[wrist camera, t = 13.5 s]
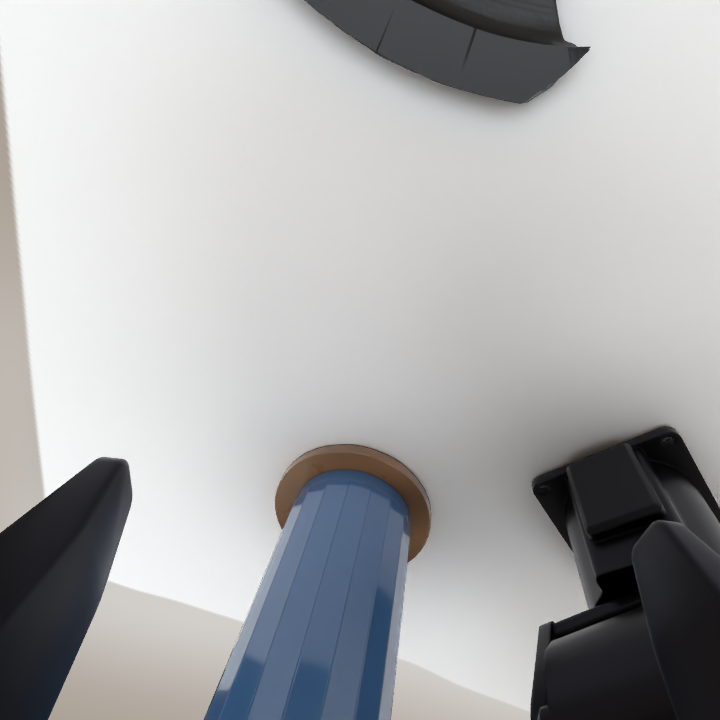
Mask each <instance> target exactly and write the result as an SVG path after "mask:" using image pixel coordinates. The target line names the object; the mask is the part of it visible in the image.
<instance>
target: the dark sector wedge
mask: <svg viewBox="0 0 720 720" xmlns="http://www.w3.org/2000/svg"><path fill="white" fill-rule="evenodd" d="M305 1H306V2H307V3H308V4H310V5H311V6H312V7H313V8H314V9H316V10H317V11H318V12H319V13H320V14H322V15H323V16H324V17H326V18H327V19H328V20H330V21H331V22H333V23H334V24H335V25H336V26H337V27H339V28H340V29H341V30H342V31H344V32H345V33H347V34H348V35H350V36H352V37H353V38H354V39H356V40H357V41H359V42H360V43H362V44H364V45H365V46H367V47H368V48H369V49H371V50H372V51H374V52H375V53H376V54H378V55H379V56H381V57H383V58H385V59H387V60H390V61H391V62H394V63H396V64H398V65H401V66H402V67H404V68H406V69H409V70H411V71H413V72H416V73H419V74H421V75H423V76H426V77H427V78H429V79H431V80H433V81H436V82H439V83H441V84H444V85H447V86H450V87H454V88H457V89H460V90H464V91H468V92H471V93H475V94H479V95H483V96H487V97H491V98H495V99H500V100H504V101H509V102H514V103H520V104H521V103H526V102H529V101H530V100H531V99H533V98H534V97H536V96H538V95H539V94H541V93H543V92H544V91H546V90H547V89H549V88H550V87H551V86H552V85H553V84H554V83H555V82H556V81H557V80H558V79H559V78H560V77H561V76H563V75H564V74H565V73H566V72H567V71H568V70H569V69H571V68H572V67H573V66H574V65H575V64H576V63H577V62H578V61H579V60H580V59H581V58H582V57H583V56H584V55H585V54H586V53H587V52H588V51H589V48H590V47H577V46H576V45H575V44H572V43H569V42H567V41H565V40H564V38H563V35H562V31H561V27H560V24H559V18H558V13H557V6H556V0H305Z"/></svg>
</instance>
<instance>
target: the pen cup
mask: <svg viewBox="0 0 720 720" xmlns="http://www.w3.org/2000/svg"><path fill="white" fill-rule="evenodd" d="M410 532H411V516H410V512H409V509H408V507H407V505H406V503H405V501H404V499H403V498H402V497H401V495H400V494H399V493H398V492H397V491H396V490H395V489H394V488H393V487H392V486H390V485H389V484H388V483H386V482H385V481H383V480H382V479H380V478H378V477H376V476H373V475H371V474H368V473H364V472H361V471H355V470H333V471H328V472H325V473H321V474H319V475H317V476H315V477H313V478H312V479H310V480H309V481H308V482H307V483H305V484H304V485H303V487H302V488H301V489H300V491H299V493H298V494H297V497H296V499H295V501H294V504H293V506H292V508H291V511H290V513H289V515H288V518H287V520H286V523H285V525H284V527H283V530H282V532H281V535H280V537H279V540H278V542H277V544H276V547H275V549H274V552H273V554H272V556H271V559H270V561H269V564H268V566H267V568H266V571H265V573H264V576H263V578H262V580H261V583H260V585H259V588H258V590H257V593H256V595H255V597H254V600H253V602H252V605H251V607H250V609H249V612H248V614H247V617H246V619H245V621H244V624H243V626H242V629H241V631H240V634H239V636H238V638H237V641H236V643H235V646H234V648H233V651H232V653H231V655H230V658H229V660H228V663H227V665H226V668H225V670H224V672H223V675H222V677H221V679H220V682H219V684H218V687H217V689H216V691H215V694H214V696H213V699H212V701H211V704H210V706H209V708H208V711H207V713H206V716H205V718H204V720H391V712H392V703H393V694H394V684H395V675H396V664H397V656H398V647H399V637H400V628H401V618H402V609H403V600H404V590H405V581H406V571H407V562H408V552H409V543H410Z"/></svg>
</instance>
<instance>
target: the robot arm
mask: <svg viewBox="0 0 720 720" xmlns="http://www.w3.org/2000/svg"><path fill="white" fill-rule="evenodd" d="M667 437H672V438H671V440H669V441H667V442H662V441H663V439H665V438H667ZM542 486H547V487H548V488H546V489H540V487H542ZM532 488H533V492H534V495H535V496H536V498H537V499H538V501H539V502H540V504H541V505H542V507H543V508H544V510H545V511H546V513H547V514H548V516H549V517H550V519H551V520H552V522H553V523H554V525H555V526H556V528H557V529H558V531H559V532H560V534H561V535H562V537H563V538H564V540H565V541H566V543H567V544H568V546H569V547H570V549H571V550H572V552H573V553H574V557H575V561H576V564H577V568H578V572H579V575H580V579H581V583H582V586H583V590H584V594H585V598H586V601H587V605H588V609H589V610H586V611H584V612H581V613H579V614H576V615H574V616H571V617H569V618H567V619H564V620H562V621H559V622H557V623H554V622H553V621H551V622H549V623H546V624H544V625H541V626H540V627H539V635H538V644H537V653H536V662H535V671H534V680H533V689H532V698H531V720H720V508H719V507H718V505H717V503H716V501H715V499H714V497H713V495H712V494H711V492H710V490H709V488H708V486H707V484H706V482H705V481H704V479H703V477H702V475H701V473H700V471H699V469H698V467H697V466H696V464H695V462H694V460H693V458H692V456H691V454H690V453H689V451H688V449H687V447H686V445H685V443H684V441H683V440H682V438H681V436H680V435H679V433H678V432H677V431H676V430H675V429H674V428H671V427H663V428H659V429H657V430H654V431H652V432H649V433H647V434H644V435H642V436H639V437H637V438H634V439H632V440H629V441H627V442H624V443H621V444H618V445H616V446H613V447H611V448H608V449H606V450H603V451H601V452H598V453H596V454H593V455H591V456H588V457H586V458H584V459H581V460H579V461H576V462H574V463H571V464H569V465H567V466H564V467H562V468H559V469H557V470H555V471H552V472H550V473H547V474H545V475H542V476H540V477H537V478H536V479H534V481H533V482H532ZM131 502H132V486H131V479H130V471H129V465H128V462H127V461H126V460H124V459H118V458H109V457H101V458H98V459H96V460H95V461H93V462H92V463H91V464H89V465H88V466H87V467H85V468H84V469H83V470H82V471H80V472H79V473H78V474H76V475H75V476H74V477H72V478H71V479H70V480H69V481H67V482H66V483H65V484H63V485H62V486H61V487H59V488H58V489H57V490H56V491H54V492H53V493H52V494H50V495H49V496H48V497H46V498H45V499H44V500H43V501H41V502H40V503H39V504H37V505H36V506H35V507H33V508H32V509H31V510H30V511H28V512H27V513H26V514H24V515H23V516H22V517H21V518H19V519H18V520H17V521H15V522H14V523H13V524H11V525H10V526H9V527H7V528H6V529H5V530H4V531H2V532H1V533H0V720H48V718H49V716H50V714H51V711H52V709H53V707H54V705H55V702H56V700H57V698H58V696H59V693H60V691H61V689H62V686H63V684H64V682H65V680H66V678H67V675H68V673H69V671H70V669H71V666H72V664H73V662H74V660H75V657H76V655H77V653H78V650H79V648H80V646H81V644H82V641H83V639H84V637H85V635H86V633H87V630H88V628H89V626H90V624H91V621H92V619H93V617H94V614H95V612H96V610H97V607H98V605H99V602H100V600H101V597H102V594H103V591H104V588H105V585H106V582H107V579H108V576H109V573H110V570H111V567H112V564H113V560H114V557H115V554H116V551H117V548H118V545H119V542H120V538H121V535H122V532H123V529H124V526H125V523H126V520H127V516H128V513H129V510H130V507H131Z"/></svg>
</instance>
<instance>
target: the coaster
mask: <svg viewBox="0 0 720 720" xmlns="http://www.w3.org/2000/svg"><path fill="white" fill-rule="evenodd" d="M333 470H355V471H361V472H364V473H368V474H371V475H373V476H376V477H378V478H380V479H382V480H383V481H385V482H386V483H388V484H389V485H390V486H392V487H393V488H394V489H395V490H396V491H397V492H398V493H399V494H400V495H401V497H402V498H403V499H404V501H405V503H406V505H407V507H408V509H409V512H410V516H411V532H410V543H409V552H408V562H409V561H411V560H412V559H413V558H414V557H415V556H416V555H417V554H418V553H419V552H420V551H421V550H422V548H423V546H424V545H425V543H426V541H427V538H428V536H429V531H430V523H431V509H430V503H429V500H428V497H427V494H426V492H425V490H424V488H423V487H422V485H421V483H420V482H419V480H418V479H417V478H416V477H415V476H414V475H413V473H412V472H411V471H409V470H408V469H407V468H406V467H405V466H404V465H402V464H401V463H400V462H398V461H397V460H395V459H393V458H392V457H390V456H388V455H386V454H384V453H381V452H379V451H376V450H373V449H370V448H366V447H361V446H356V445H332V446H325V447H322V448H318V449H315V450H313V451H310V452H308V453H306V454H304V455H303V456H301V457H299V458H298V459H297V460H296V461H294V462H293V463H292V464H291V465H290V467H289V468H288V469H287V470H286V472H285V473H284V475H283V477H282V479H281V481H280V483H279V486H278V488H277V492H276V497H275V509H276V515H277V518H278V522H279V524H280V526H281V529H282V530H283V527H284V525H285V523H286V520H287V518H288V515H289V513H290V511H291V508H292V506H293V504H294V501H295V499H296V497H297V494H298V493H299V491H300V489H301V488H302V487H303V485H304V484H305V483H307V482H308V481H309V480H310V479H312V478H313V477H315V476H317V475H319V474H321V473H325V472H328V471H333ZM408 562H407V563H408Z"/></svg>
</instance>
